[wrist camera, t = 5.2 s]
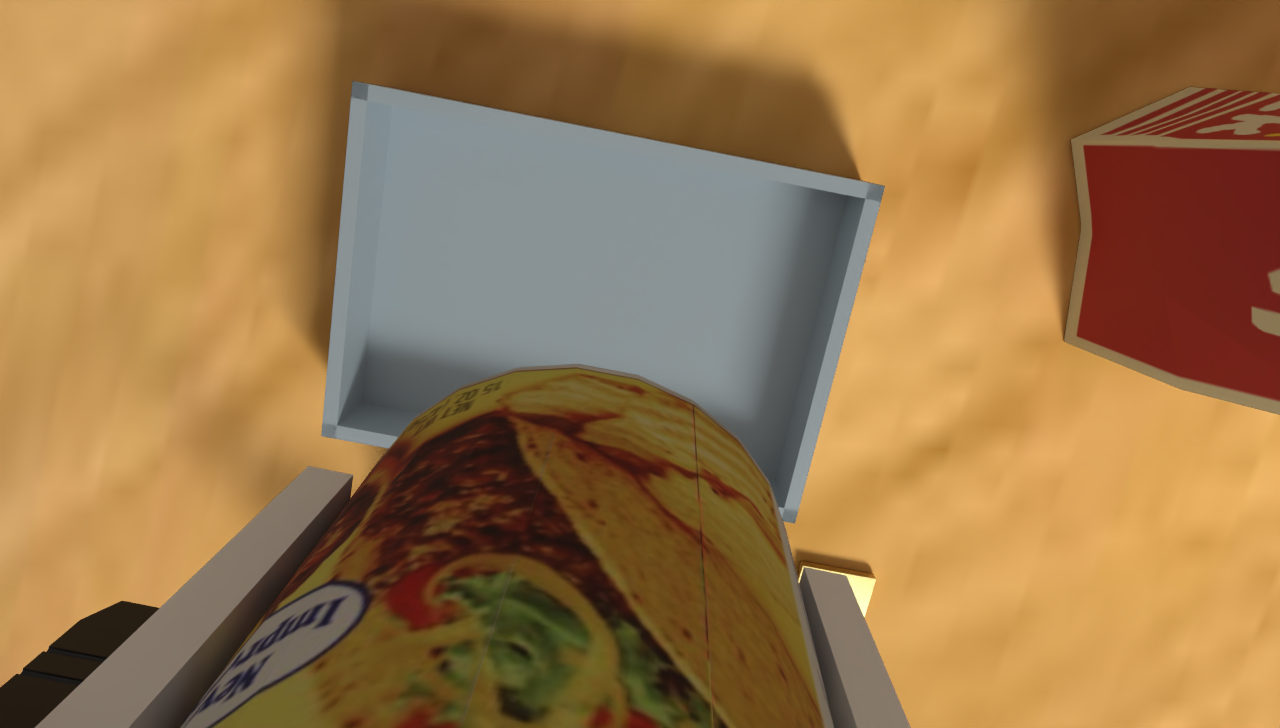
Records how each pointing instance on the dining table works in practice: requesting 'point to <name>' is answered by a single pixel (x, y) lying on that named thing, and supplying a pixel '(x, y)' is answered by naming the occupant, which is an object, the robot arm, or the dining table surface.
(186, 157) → the dining table surface
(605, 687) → the canned food
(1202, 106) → the milk carton
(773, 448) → the tray
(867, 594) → the beige flat block
